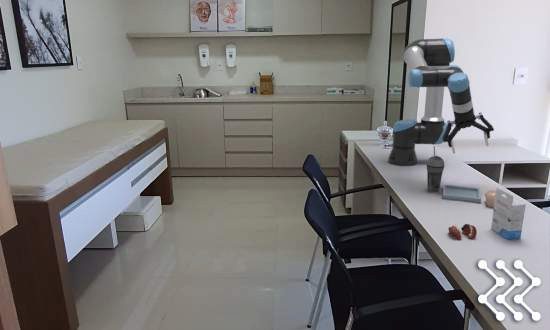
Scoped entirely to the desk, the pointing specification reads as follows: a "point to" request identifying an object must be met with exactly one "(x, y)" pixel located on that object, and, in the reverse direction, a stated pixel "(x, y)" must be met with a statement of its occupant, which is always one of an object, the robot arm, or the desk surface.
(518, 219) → the ink box
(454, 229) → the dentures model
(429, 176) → the beverage cup
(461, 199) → the tray
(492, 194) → the brown egg
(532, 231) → the desk surface
